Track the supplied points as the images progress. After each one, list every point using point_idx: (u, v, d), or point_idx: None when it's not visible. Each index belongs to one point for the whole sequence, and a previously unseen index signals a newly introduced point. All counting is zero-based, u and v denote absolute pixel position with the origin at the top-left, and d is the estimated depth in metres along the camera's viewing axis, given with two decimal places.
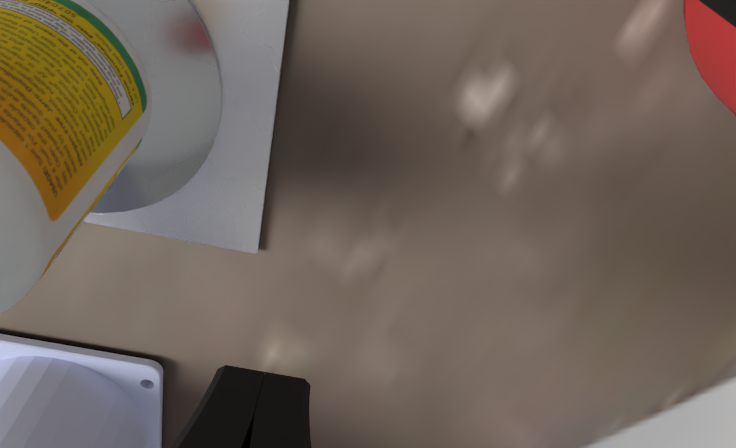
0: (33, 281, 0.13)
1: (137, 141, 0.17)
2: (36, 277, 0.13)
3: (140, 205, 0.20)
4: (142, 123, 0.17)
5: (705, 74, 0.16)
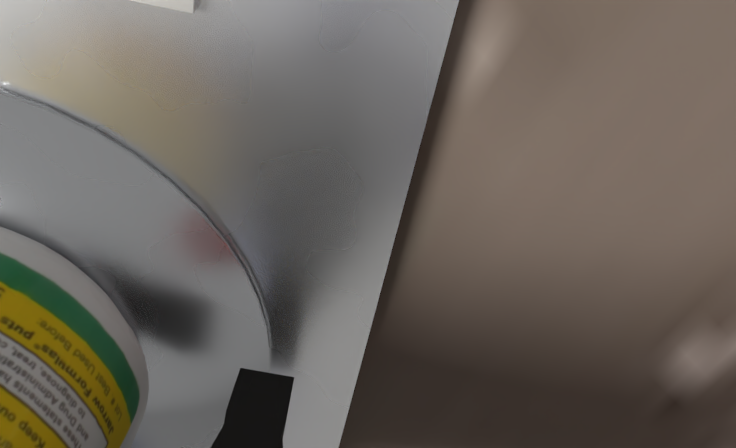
0: None
1: None
2: None
3: None
4: (131, 436, 0.10)
5: None
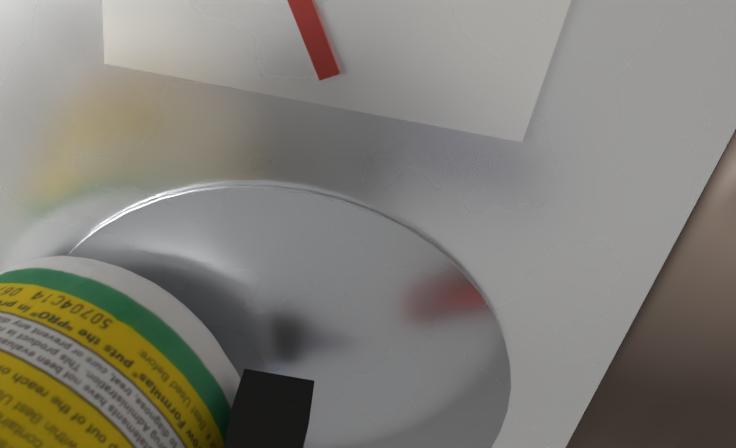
0: None
1: None
2: None
3: None
4: None
5: None
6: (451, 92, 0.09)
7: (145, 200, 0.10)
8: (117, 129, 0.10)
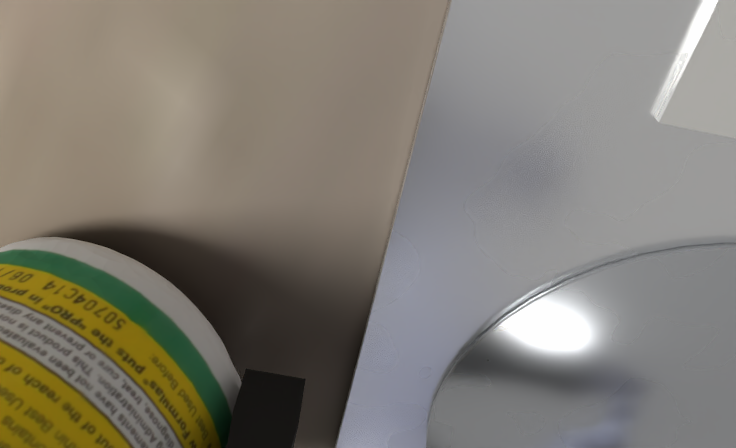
0: None
1: None
2: None
3: None
4: None
5: None
6: None
7: (628, 256, 0.10)
8: (629, 186, 0.09)
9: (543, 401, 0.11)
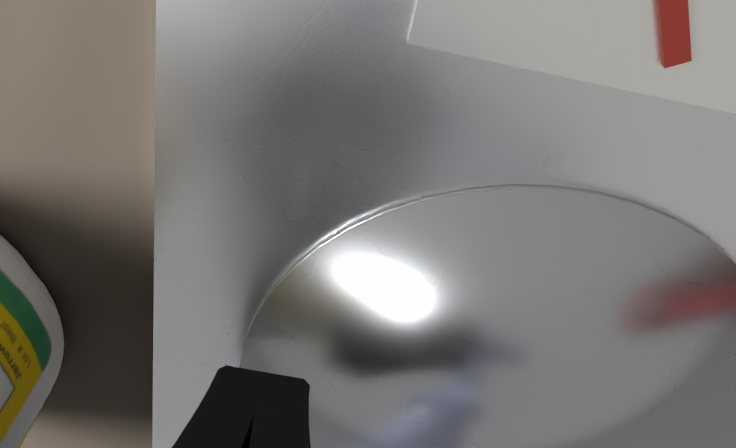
0: None
1: (36, 413, 0.10)
2: None
3: None
4: (43, 384, 0.10)
5: None
6: None
7: (409, 199, 0.09)
8: (396, 119, 0.08)
9: (352, 359, 0.11)
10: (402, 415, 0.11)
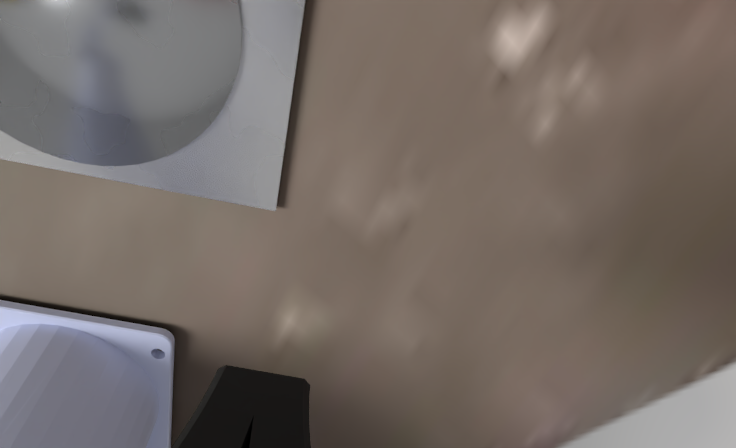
0: None
1: None
2: None
3: (153, 157, 0.19)
4: None
5: None
6: None
7: None
8: None
9: None
10: (12, 23, 0.17)
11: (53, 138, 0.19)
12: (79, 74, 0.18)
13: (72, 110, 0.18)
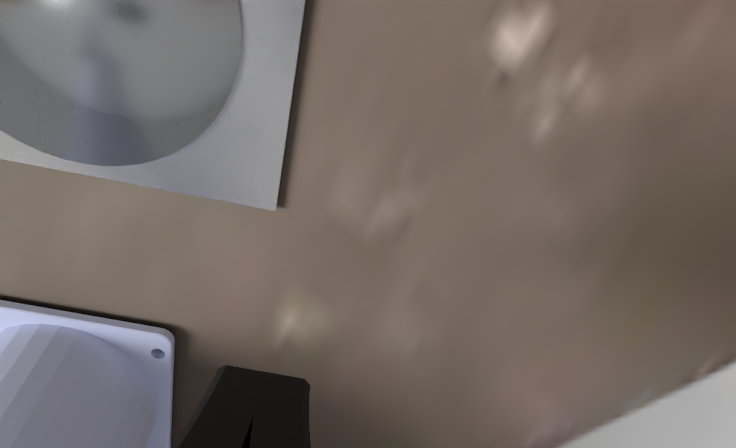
0: None
1: None
2: None
3: (153, 157, 0.19)
4: None
5: None
6: None
7: None
8: None
9: None
10: (12, 23, 0.17)
11: (53, 138, 0.19)
12: (79, 74, 0.18)
13: (72, 110, 0.18)
